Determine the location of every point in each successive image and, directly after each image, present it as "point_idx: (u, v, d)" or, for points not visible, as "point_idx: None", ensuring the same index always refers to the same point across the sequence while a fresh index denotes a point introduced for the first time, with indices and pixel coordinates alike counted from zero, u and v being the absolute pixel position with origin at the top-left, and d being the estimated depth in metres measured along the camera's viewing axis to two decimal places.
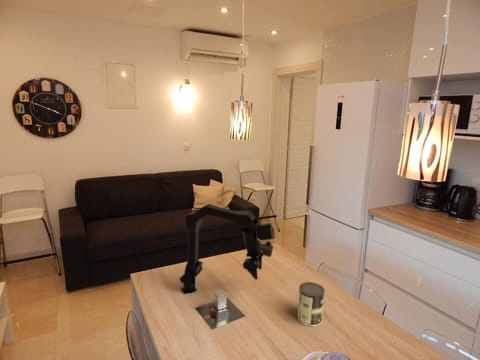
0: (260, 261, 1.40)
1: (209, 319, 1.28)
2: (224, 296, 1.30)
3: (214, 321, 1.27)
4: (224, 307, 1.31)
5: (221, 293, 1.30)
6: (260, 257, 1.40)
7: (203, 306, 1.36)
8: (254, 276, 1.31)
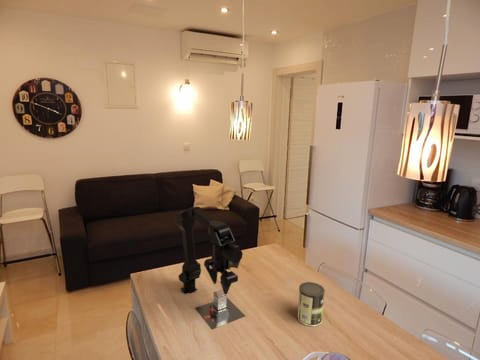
0: (216, 275, 1.34)
1: (209, 319, 1.28)
2: (224, 296, 1.30)
3: (214, 321, 1.27)
4: (224, 307, 1.31)
5: (221, 293, 1.30)
6: None
7: (203, 306, 1.36)
8: (225, 291, 1.26)
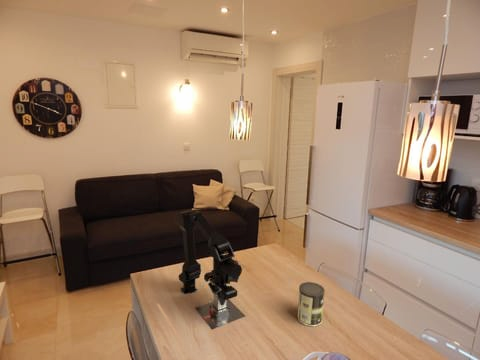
0: None
1: (209, 319, 1.28)
2: None
3: (214, 321, 1.27)
4: (224, 307, 1.31)
5: None
6: None
7: (203, 306, 1.36)
8: (222, 302, 1.29)
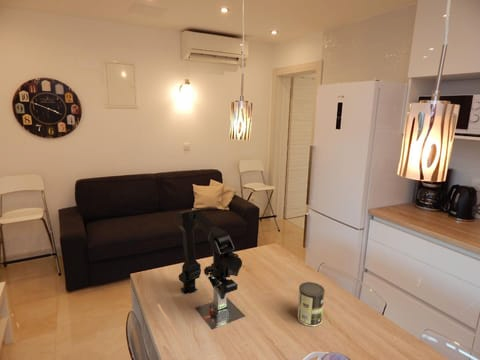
0: None
1: (209, 319, 1.28)
2: None
3: (214, 321, 1.27)
4: (224, 301, 1.30)
5: None
6: (219, 281, 1.33)
7: (203, 306, 1.36)
8: (222, 296, 1.28)
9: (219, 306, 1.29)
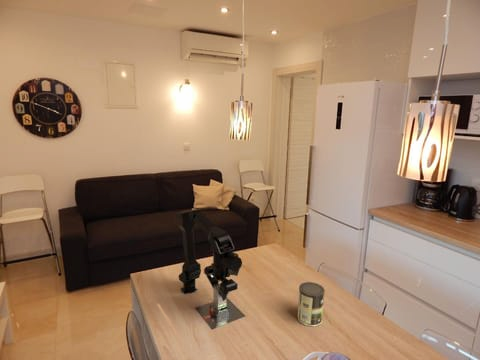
0: (217, 283, 1.34)
1: (209, 319, 1.28)
2: None
3: (214, 321, 1.27)
4: (224, 301, 1.30)
5: None
6: (217, 279, 1.34)
7: (203, 306, 1.36)
8: (224, 297, 1.27)
9: (219, 306, 1.29)
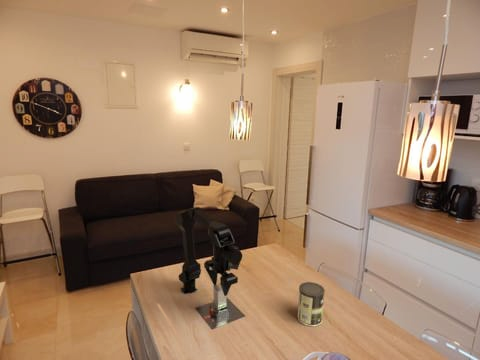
0: (216, 276, 1.34)
1: (209, 319, 1.28)
2: None
3: (214, 321, 1.27)
4: (224, 301, 1.30)
5: None
6: (216, 272, 1.34)
7: (203, 306, 1.36)
8: (225, 292, 1.25)
9: (219, 306, 1.29)
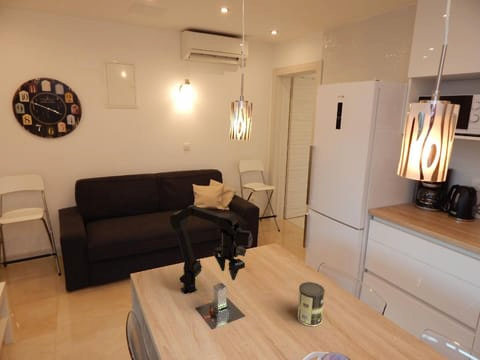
0: (224, 263, 1.44)
1: (209, 319, 1.28)
2: (224, 289, 1.29)
3: (214, 321, 1.27)
4: (224, 300, 1.30)
5: (221, 286, 1.30)
6: (224, 259, 1.44)
7: (203, 306, 1.36)
8: (233, 277, 1.35)
9: (219, 306, 1.29)
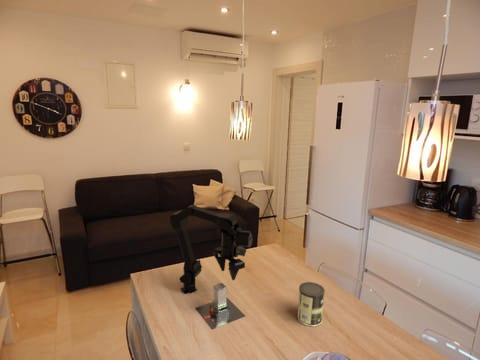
0: (224, 263, 1.44)
1: (209, 319, 1.28)
2: (224, 289, 1.29)
3: (214, 321, 1.27)
4: (224, 300, 1.30)
5: (221, 286, 1.30)
6: (224, 259, 1.44)
7: (203, 306, 1.36)
8: (233, 277, 1.35)
9: (219, 306, 1.29)
